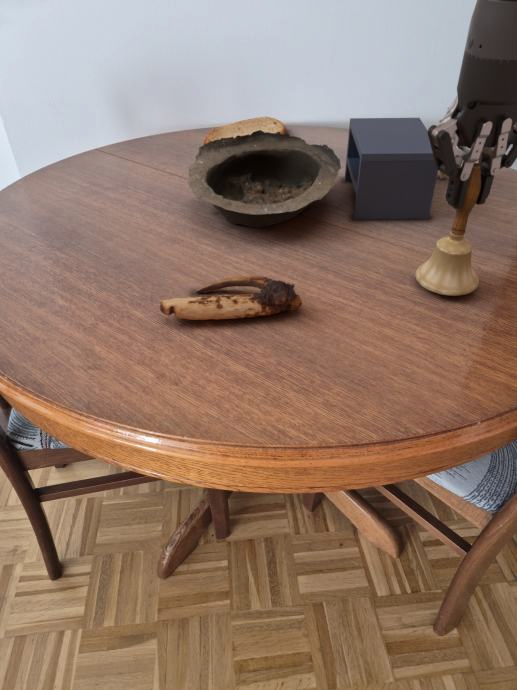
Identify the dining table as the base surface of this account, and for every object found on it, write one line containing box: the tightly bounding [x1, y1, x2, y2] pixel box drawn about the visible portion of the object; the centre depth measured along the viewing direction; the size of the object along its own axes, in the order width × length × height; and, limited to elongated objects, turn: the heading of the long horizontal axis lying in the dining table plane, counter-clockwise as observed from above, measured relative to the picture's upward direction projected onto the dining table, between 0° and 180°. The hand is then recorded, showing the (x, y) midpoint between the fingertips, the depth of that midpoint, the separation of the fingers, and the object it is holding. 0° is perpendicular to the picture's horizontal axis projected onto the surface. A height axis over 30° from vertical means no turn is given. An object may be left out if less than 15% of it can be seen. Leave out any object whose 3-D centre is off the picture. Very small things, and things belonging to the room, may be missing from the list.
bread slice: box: [202, 116, 287, 146], centre depth 115 cm, size 18×18×4 cm
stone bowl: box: [187, 130, 342, 228], centre depth 90 cm, size 25×25×9 cm
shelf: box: [344, 117, 439, 221], centre depth 92 cm, size 12×16×11 cm
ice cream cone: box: [437, 94, 458, 179], centre depth 96 cm, size 5×5×15 cm
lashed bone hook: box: [159, 275, 303, 321], centre depth 70 cm, size 9×5×18 cm
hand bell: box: [414, 162, 481, 297], centre depth 69 cm, size 8×8×16 cm
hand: (465, 203), depth 67 cm, fingers closed on hand bell, 2 cm apart
